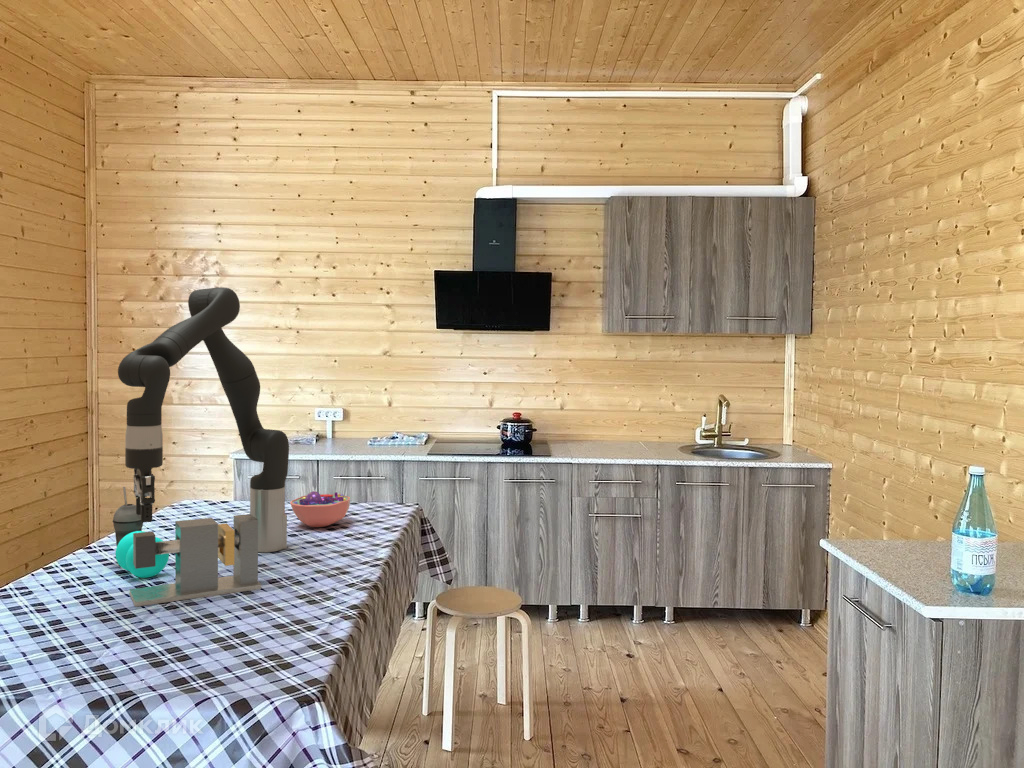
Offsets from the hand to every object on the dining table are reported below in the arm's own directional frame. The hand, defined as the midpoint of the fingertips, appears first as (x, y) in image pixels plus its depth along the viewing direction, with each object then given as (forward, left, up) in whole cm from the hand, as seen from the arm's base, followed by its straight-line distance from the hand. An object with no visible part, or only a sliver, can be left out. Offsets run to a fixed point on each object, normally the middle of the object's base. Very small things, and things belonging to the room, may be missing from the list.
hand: (143, 518), depth 177 cm
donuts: (-2, -20, -18) cm, 27 cm away
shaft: (-11, 0, -11) cm, 15 cm away
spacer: (-18, 0, -12) cm, 21 cm away
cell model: (-57, -50, -18) cm, 78 cm away
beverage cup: (0, -30, -18) cm, 35 cm away
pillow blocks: (-11, 0, -18) cm, 21 cm away
